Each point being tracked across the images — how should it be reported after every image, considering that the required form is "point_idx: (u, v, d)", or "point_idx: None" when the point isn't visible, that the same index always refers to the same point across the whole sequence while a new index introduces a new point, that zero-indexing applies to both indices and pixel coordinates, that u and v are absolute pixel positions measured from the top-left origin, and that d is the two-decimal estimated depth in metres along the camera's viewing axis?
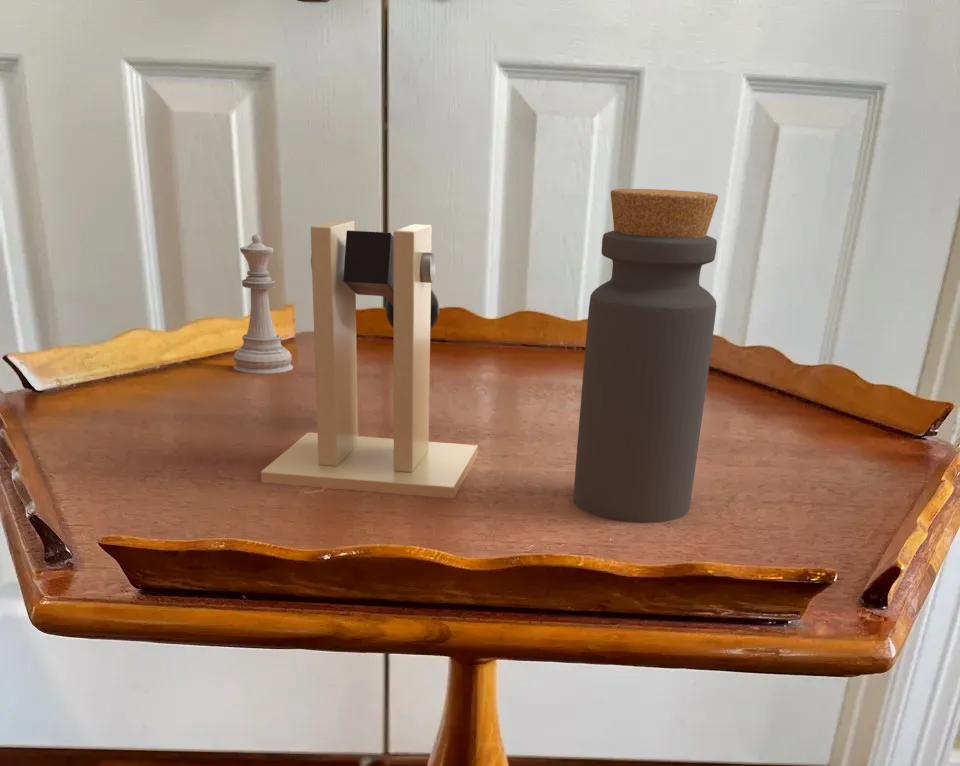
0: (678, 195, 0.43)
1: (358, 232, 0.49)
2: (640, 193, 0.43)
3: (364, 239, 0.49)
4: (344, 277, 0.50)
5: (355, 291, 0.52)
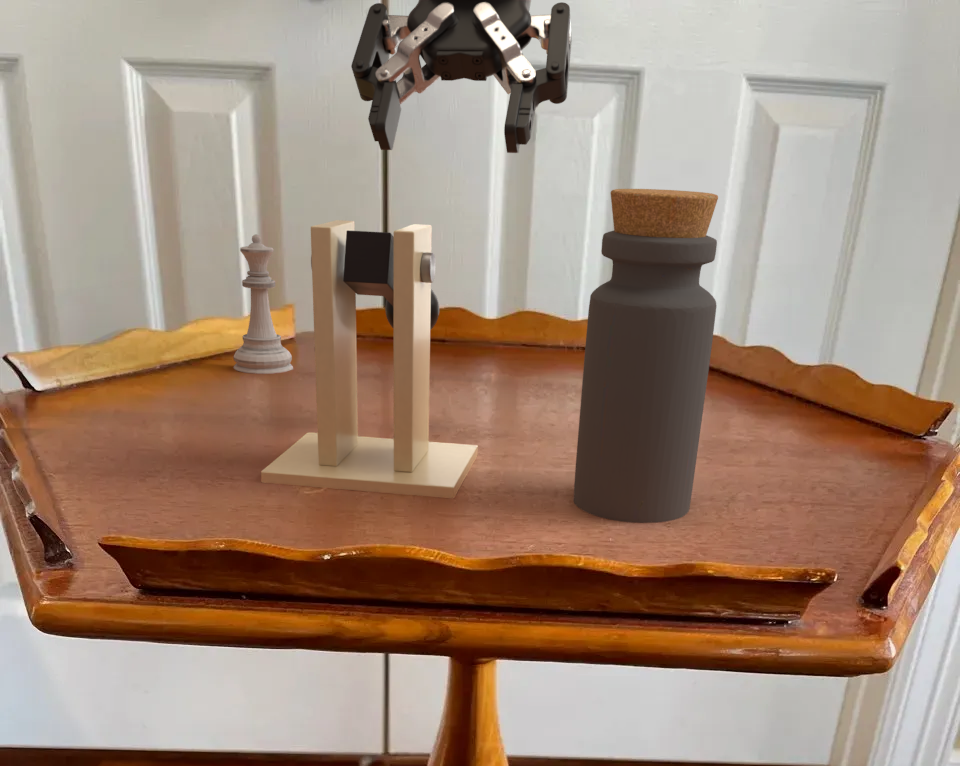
0: (678, 195, 0.43)
1: (358, 232, 0.49)
2: (640, 193, 0.43)
3: (364, 239, 0.49)
4: (344, 277, 0.50)
5: (355, 291, 0.52)
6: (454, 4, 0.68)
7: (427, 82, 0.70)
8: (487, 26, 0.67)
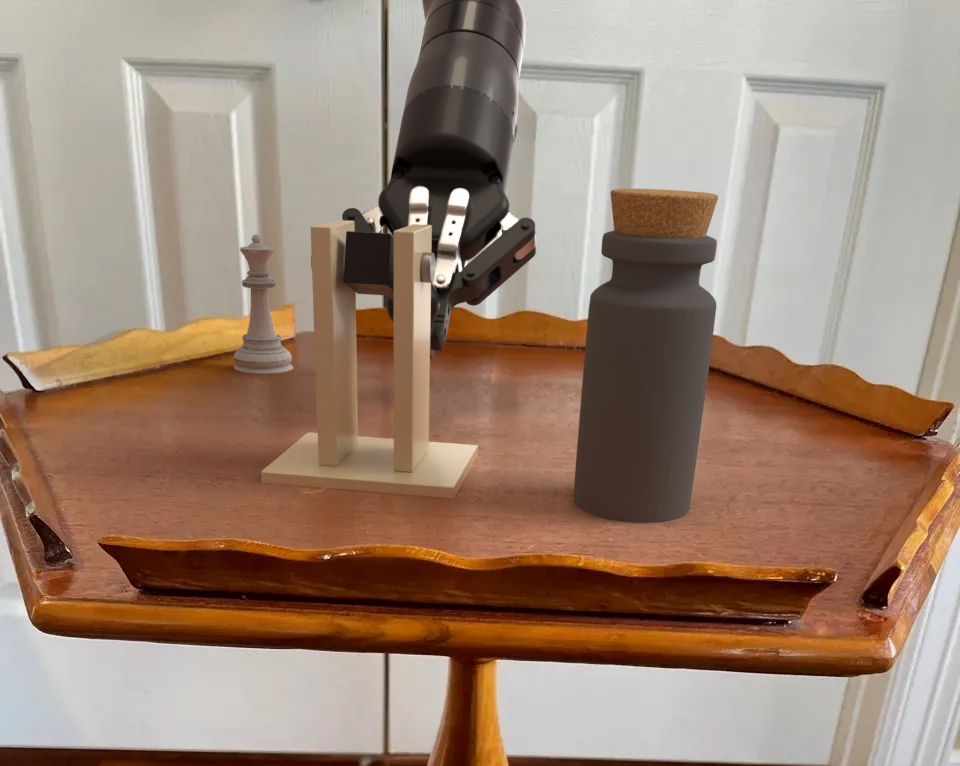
0: (678, 195, 0.43)
1: (358, 233, 0.49)
2: (640, 193, 0.43)
3: (364, 240, 0.49)
4: (344, 278, 0.50)
5: (355, 291, 0.52)
6: (428, 186, 0.65)
7: None
8: (449, 213, 0.64)
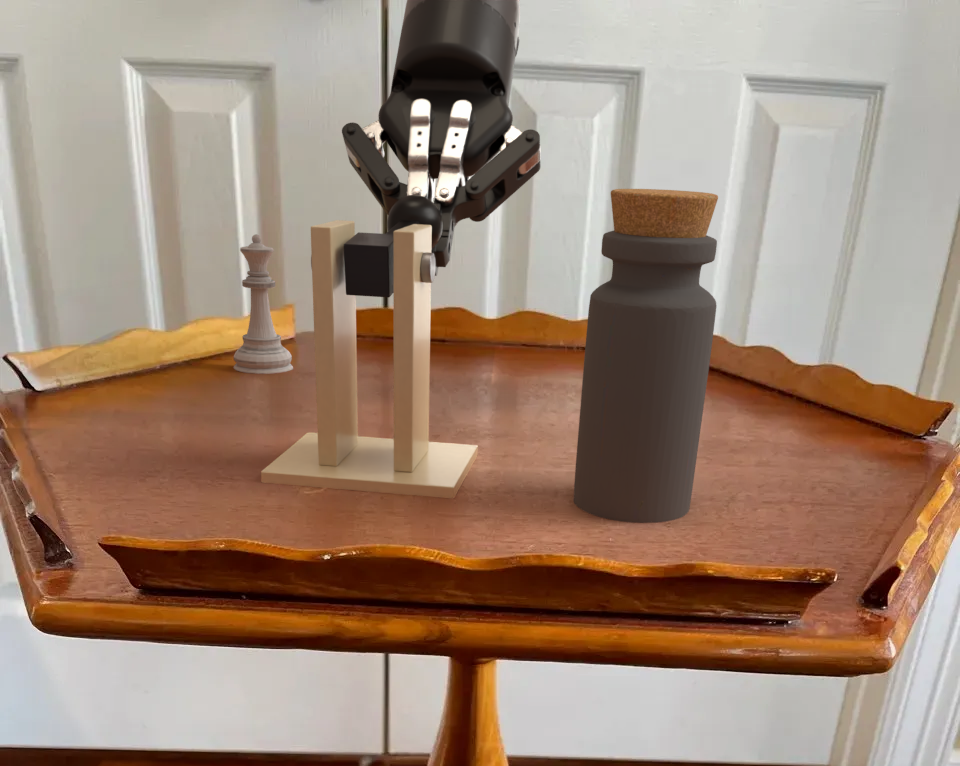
0: (678, 195, 0.43)
1: (355, 246, 0.49)
2: (640, 193, 0.43)
3: (362, 253, 0.49)
4: (346, 291, 0.50)
5: None
6: (430, 99, 0.64)
7: (433, 184, 0.65)
8: (452, 126, 0.62)
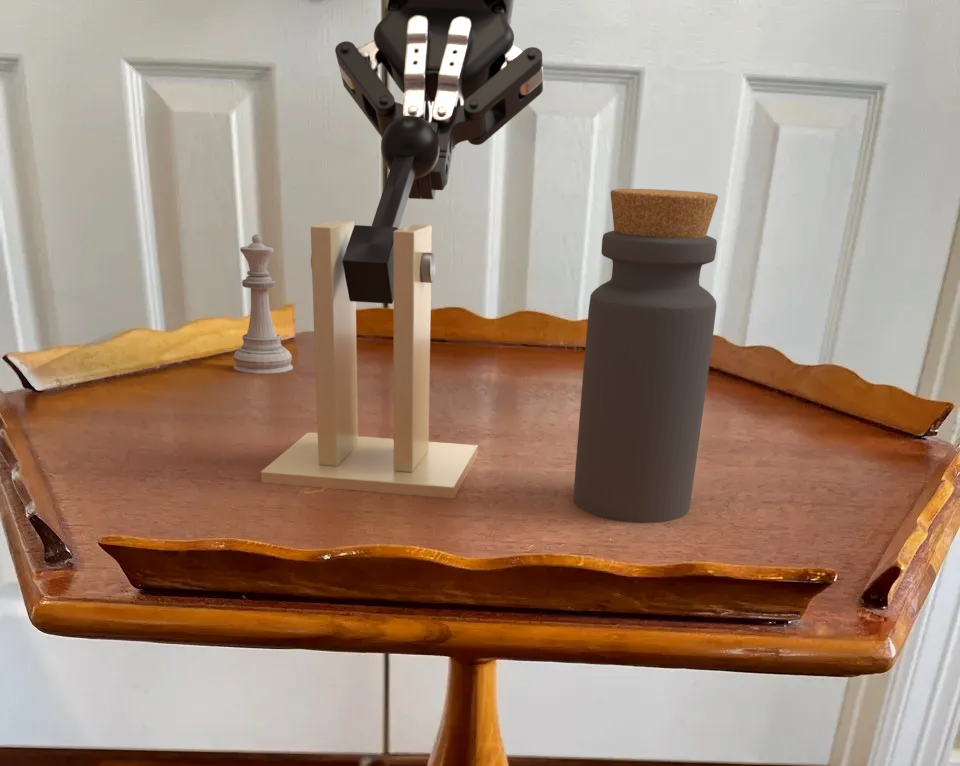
0: (678, 195, 0.43)
1: (354, 263, 0.49)
2: (640, 193, 0.43)
3: (361, 268, 0.49)
4: (350, 298, 0.51)
5: None
6: (427, 17, 0.61)
7: (431, 107, 0.62)
8: (450, 43, 0.59)
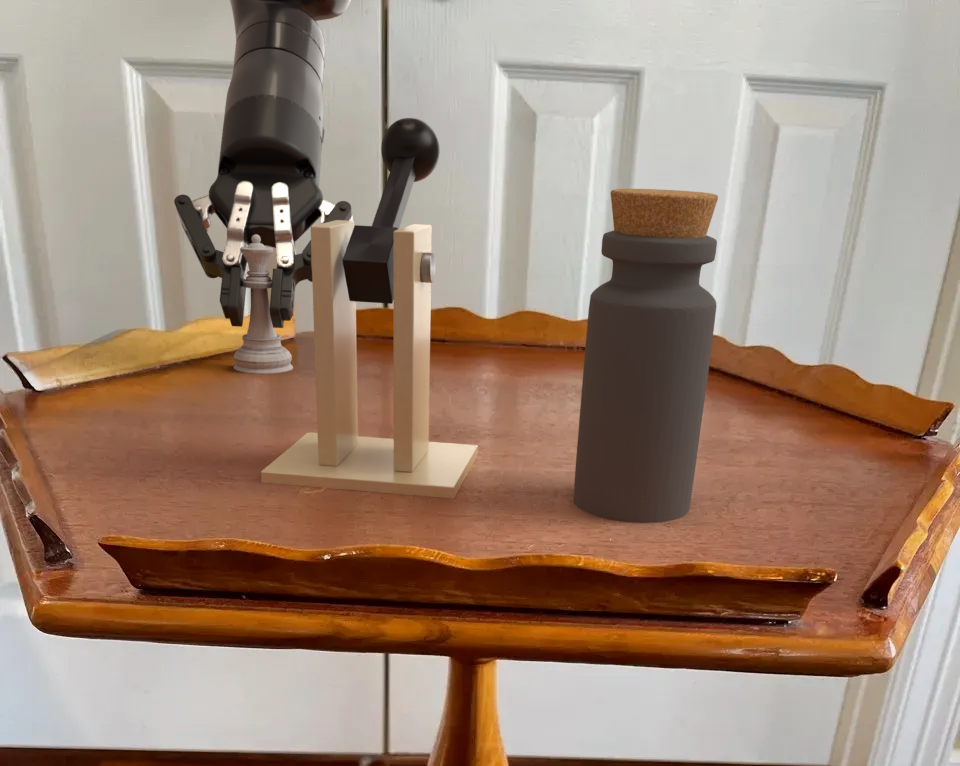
0: (678, 195, 0.43)
1: (354, 262, 0.49)
2: (640, 193, 0.43)
3: (361, 268, 0.49)
4: (350, 298, 0.51)
5: None
6: (252, 180, 0.76)
7: None
8: (276, 205, 0.75)
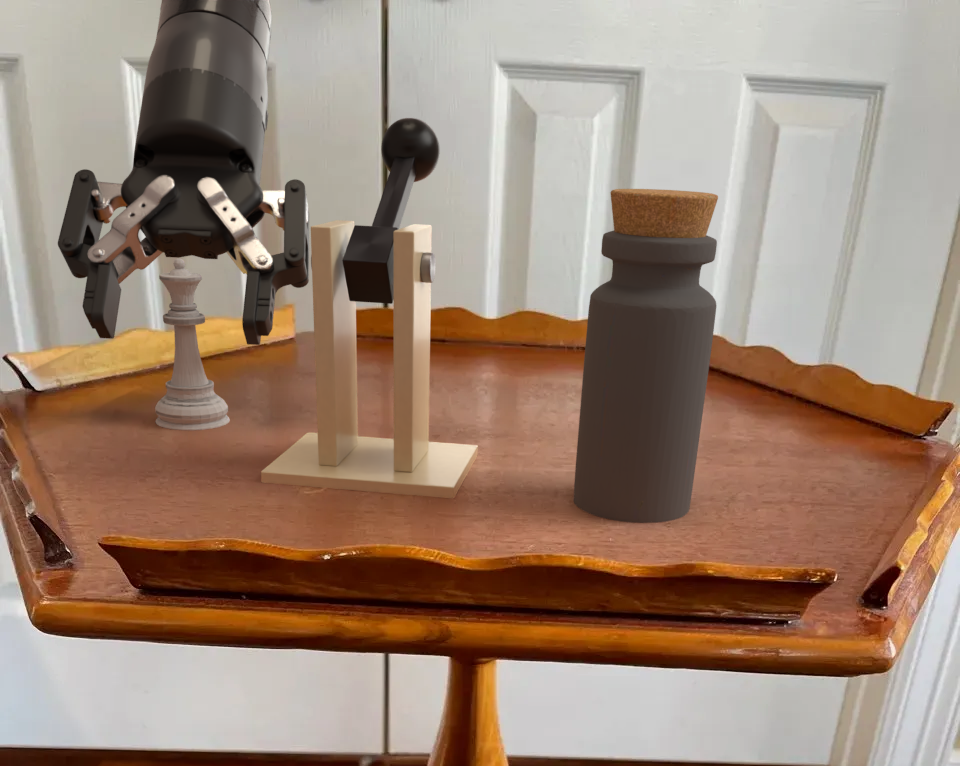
0: (678, 195, 0.43)
1: (354, 262, 0.49)
2: (640, 193, 0.43)
3: (361, 268, 0.49)
4: (350, 298, 0.51)
5: None
6: (174, 175, 0.61)
7: (149, 257, 0.62)
8: (214, 205, 0.60)
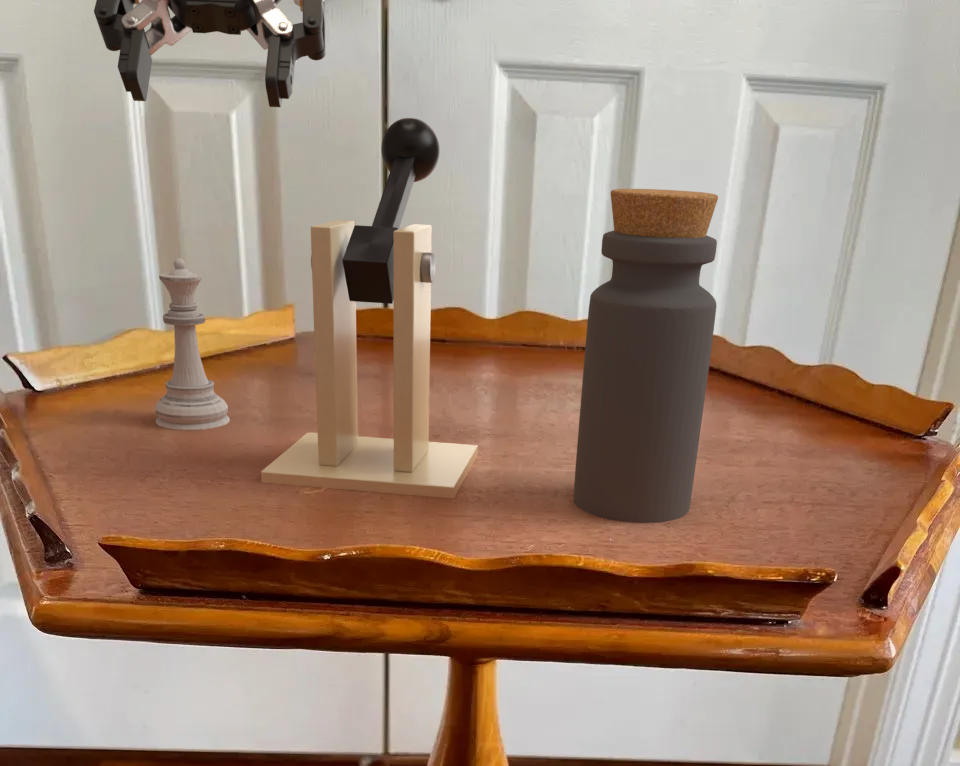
0: (678, 195, 0.43)
1: (354, 262, 0.49)
2: (640, 193, 0.43)
3: (361, 268, 0.49)
4: (350, 298, 0.51)
5: None
6: None
7: (177, 34, 0.67)
8: None
